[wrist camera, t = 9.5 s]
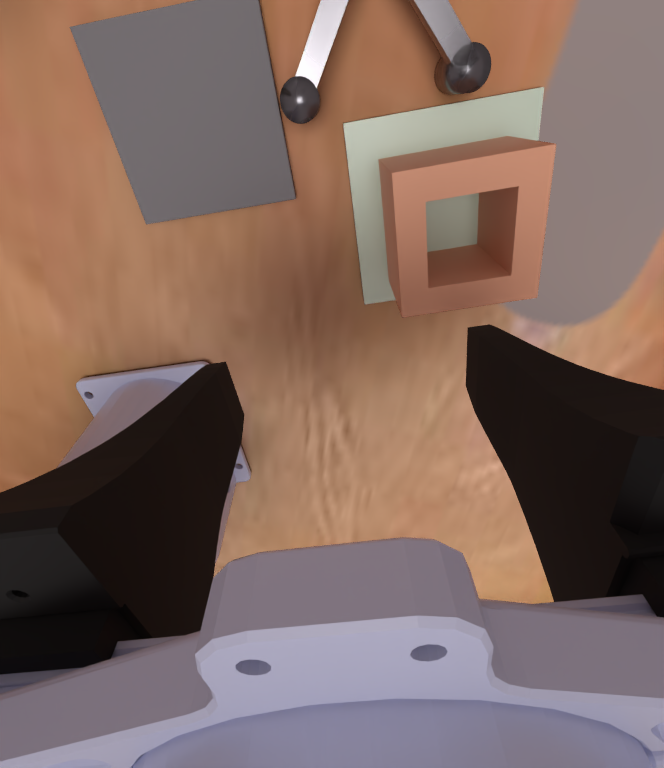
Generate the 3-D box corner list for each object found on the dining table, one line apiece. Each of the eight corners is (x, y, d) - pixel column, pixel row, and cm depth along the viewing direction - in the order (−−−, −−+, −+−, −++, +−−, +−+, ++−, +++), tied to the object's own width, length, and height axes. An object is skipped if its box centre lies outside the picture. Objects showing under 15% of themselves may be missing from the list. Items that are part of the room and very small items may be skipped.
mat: (296, 197, 19) (295, 199, 18) (149, 222, 19) (146, 224, 19) (257, -10, 15) (255, -13, 15) (75, 28, 15) (69, 26, 15)
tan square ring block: (498, 263, 20) (537, 297, 17) (388, 280, 21) (402, 317, 17) (507, 135, 17) (556, 143, 14) (378, 159, 18) (391, 173, 14)
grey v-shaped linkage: (469, 91, 17) (489, 89, 15) (289, 124, 17) (284, 126, 15) (475, -129, 13) (502, -172, 11) (253, -80, 14) (240, -111, 12)
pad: (520, 278, 21) (523, 281, 21) (364, 301, 22) (364, 304, 21) (539, 87, 17) (544, 87, 16) (343, 123, 17) (343, 123, 17)
